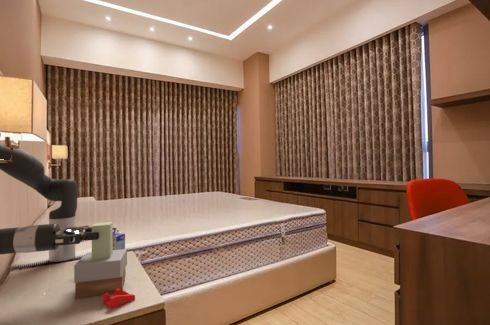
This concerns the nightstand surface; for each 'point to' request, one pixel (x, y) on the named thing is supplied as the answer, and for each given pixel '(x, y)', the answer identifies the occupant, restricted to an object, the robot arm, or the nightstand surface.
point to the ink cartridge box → (118, 241)
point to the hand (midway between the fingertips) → (101, 232)
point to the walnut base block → (98, 287)
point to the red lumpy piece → (117, 298)
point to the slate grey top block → (100, 267)
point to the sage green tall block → (102, 240)
